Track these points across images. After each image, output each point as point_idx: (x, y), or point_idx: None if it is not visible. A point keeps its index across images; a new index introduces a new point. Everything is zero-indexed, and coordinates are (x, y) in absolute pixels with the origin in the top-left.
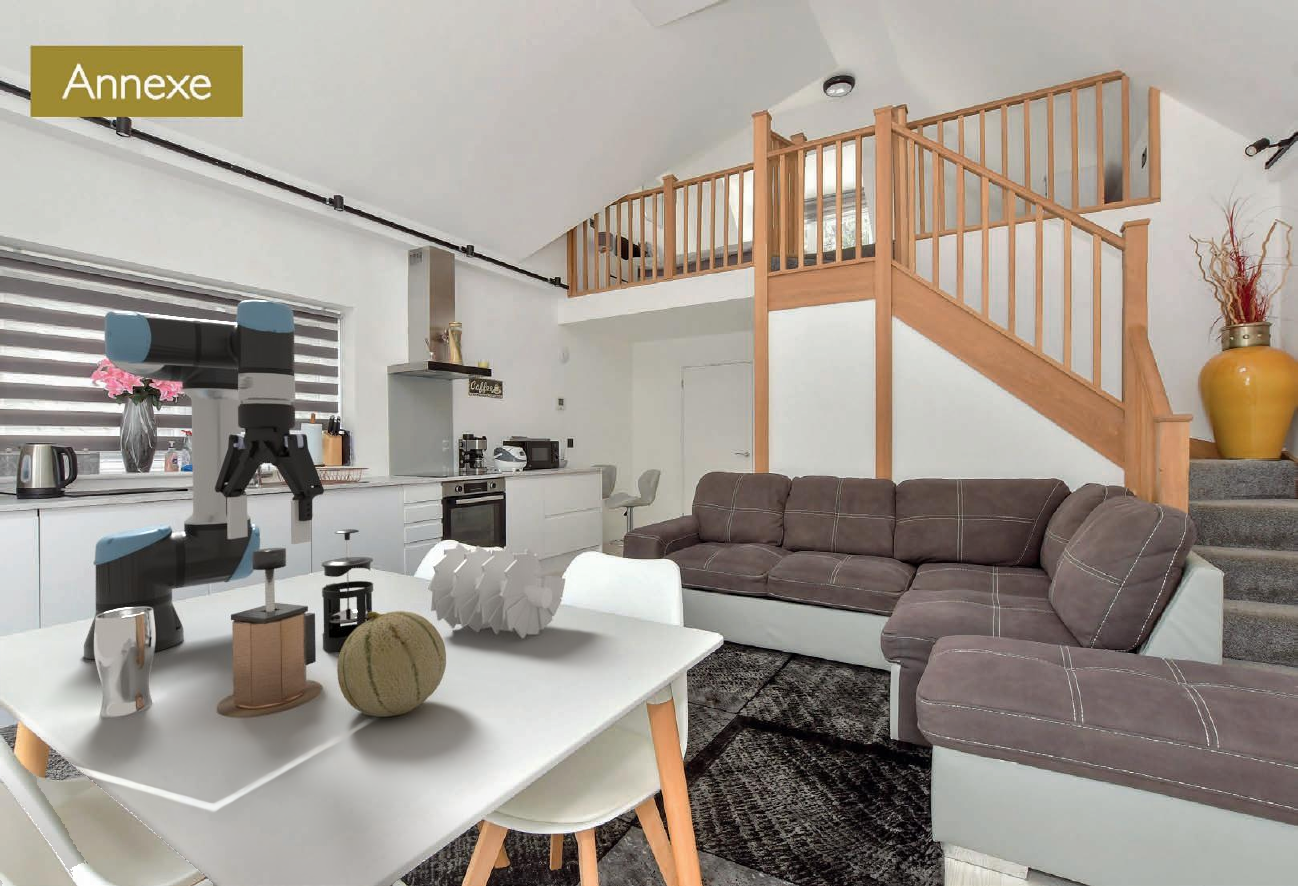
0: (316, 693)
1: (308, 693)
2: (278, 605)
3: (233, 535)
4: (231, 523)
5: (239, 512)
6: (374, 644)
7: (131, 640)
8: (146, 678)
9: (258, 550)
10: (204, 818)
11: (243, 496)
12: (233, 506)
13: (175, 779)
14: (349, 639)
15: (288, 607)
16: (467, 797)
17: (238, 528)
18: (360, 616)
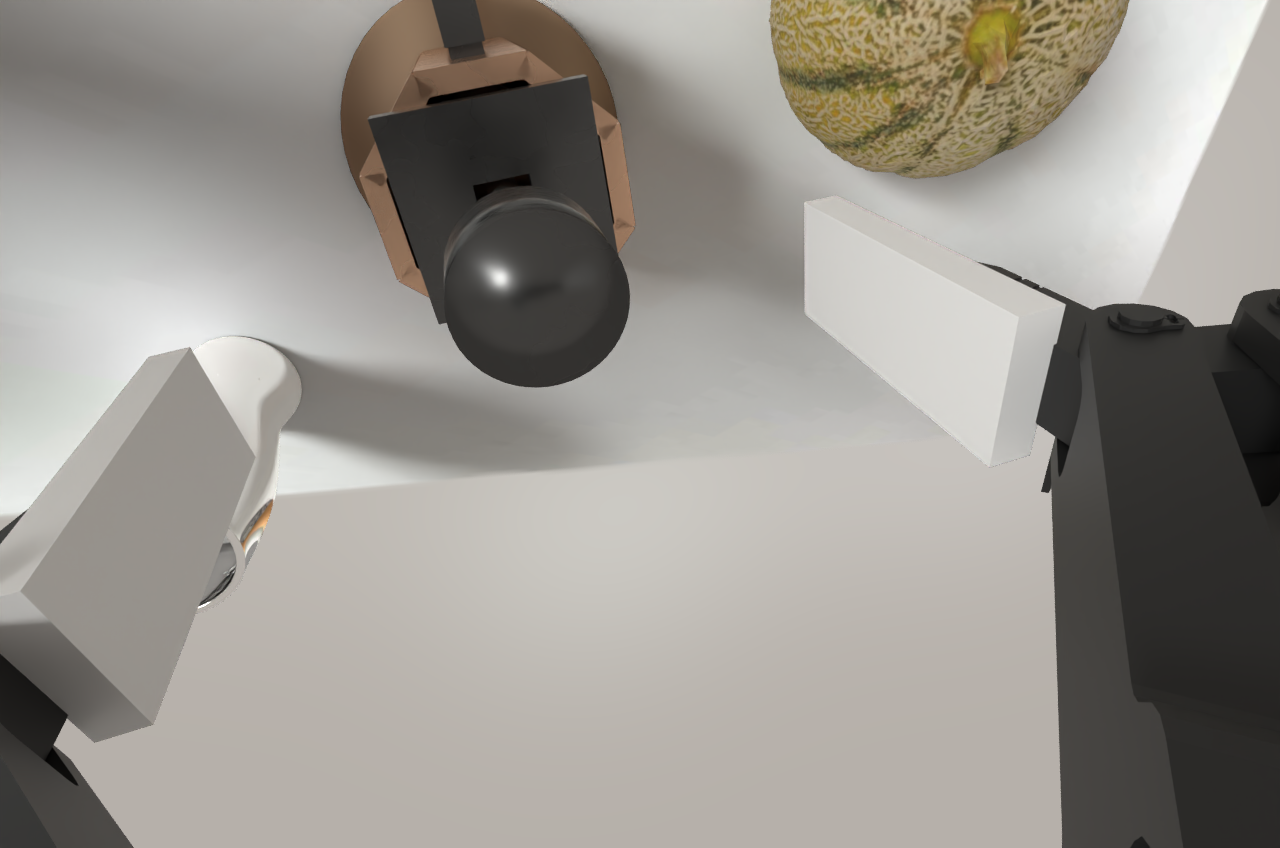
0: (581, 55)
1: (558, 67)
2: (447, 141)
3: (238, 454)
4: (221, 525)
5: (153, 529)
6: (1026, 139)
7: (268, 503)
8: (258, 395)
9: (484, 344)
10: (839, 415)
11: (51, 624)
12: (164, 622)
13: (696, 408)
14: (923, 149)
15: (529, 138)
16: (1157, 187)
17: (208, 450)
18: None
